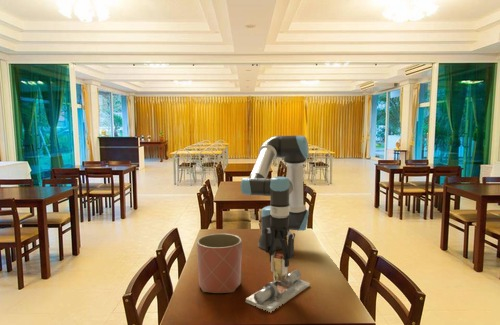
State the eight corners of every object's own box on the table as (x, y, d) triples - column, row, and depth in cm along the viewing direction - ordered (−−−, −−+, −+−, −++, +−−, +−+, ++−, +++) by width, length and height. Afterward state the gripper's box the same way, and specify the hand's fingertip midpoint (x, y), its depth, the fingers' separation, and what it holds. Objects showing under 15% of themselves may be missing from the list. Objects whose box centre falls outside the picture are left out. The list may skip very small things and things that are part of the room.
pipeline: (285, 278, 152) (286, 264, 152) (309, 285, 145) (309, 271, 144) (245, 302, 131) (245, 286, 130) (270, 312, 123) (270, 295, 123)
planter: (201, 275, 155) (201, 233, 153) (243, 276, 155) (243, 233, 153) (193, 295, 136) (192, 247, 134) (240, 296, 136) (240, 248, 134)
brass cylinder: (277, 274, 140) (277, 252, 140) (287, 278, 137) (287, 254, 136) (270, 278, 137) (271, 255, 136) (280, 282, 134) (280, 258, 133)
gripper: (256, 214, 137) (256, 269, 140) (293, 221, 126) (292, 281, 128) (267, 210, 143) (267, 263, 145) (303, 217, 132) (303, 275, 134)
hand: (279, 271), depth 137 cm, fingers closed on brass cylinder, 5 cm apart
